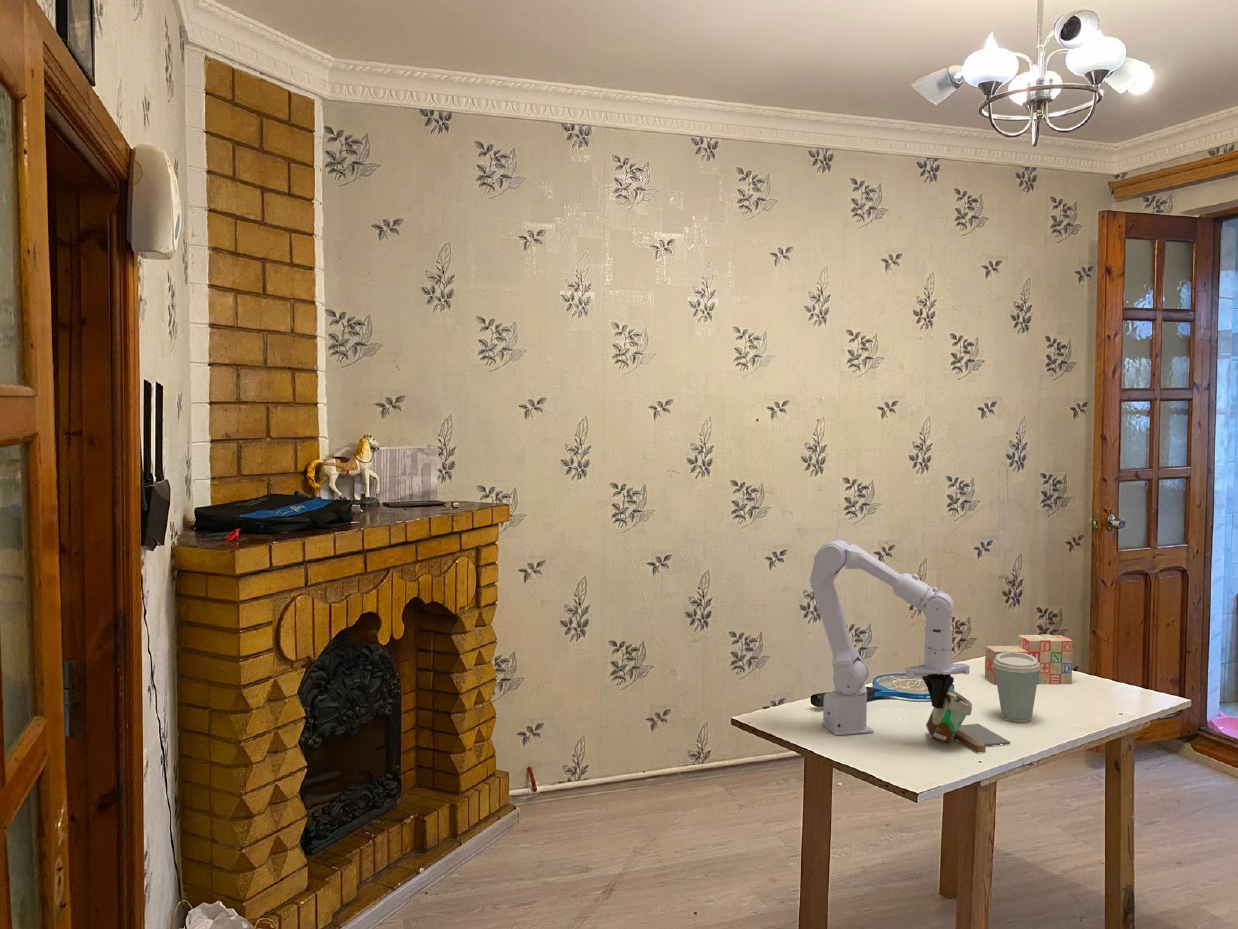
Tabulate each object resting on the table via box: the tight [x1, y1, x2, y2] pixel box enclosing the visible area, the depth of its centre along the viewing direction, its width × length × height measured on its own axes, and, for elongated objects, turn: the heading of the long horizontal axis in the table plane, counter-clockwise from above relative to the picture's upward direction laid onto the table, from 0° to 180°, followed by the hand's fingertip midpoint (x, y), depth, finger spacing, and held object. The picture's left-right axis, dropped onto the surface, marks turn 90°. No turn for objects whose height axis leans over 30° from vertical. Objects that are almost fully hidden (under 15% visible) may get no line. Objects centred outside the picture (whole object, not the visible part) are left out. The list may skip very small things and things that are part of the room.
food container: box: [925, 688, 973, 745], centre depth 204 cm, size 12×6×10 cm, turn 169°
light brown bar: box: [953, 730, 987, 754], centre depth 206 cm, size 2×16×2 cm, turn 12°
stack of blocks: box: [984, 634, 1074, 686], centre depth 249 cm, size 21×6×12 cm, turn 92°
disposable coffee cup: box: [993, 652, 1041, 723], centre depth 219 cm, size 11×11×15 cm
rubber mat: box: [958, 723, 1011, 747], centre depth 208 cm, size 8×12×1 cm, turn 12°
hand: (937, 707), depth 204 cm, fingers closed
